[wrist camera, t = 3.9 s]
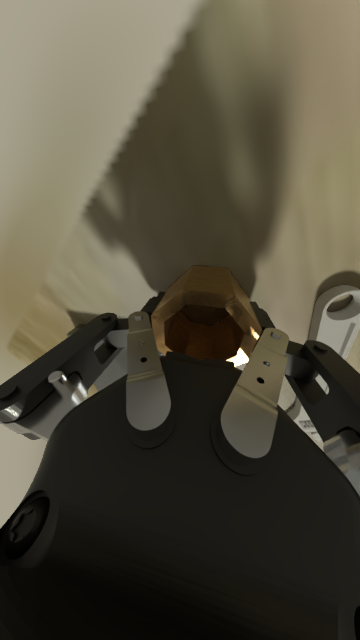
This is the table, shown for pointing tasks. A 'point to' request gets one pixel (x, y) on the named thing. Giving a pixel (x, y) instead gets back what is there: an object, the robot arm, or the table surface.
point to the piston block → (110, 365)
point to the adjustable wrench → (330, 339)
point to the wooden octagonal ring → (200, 339)
